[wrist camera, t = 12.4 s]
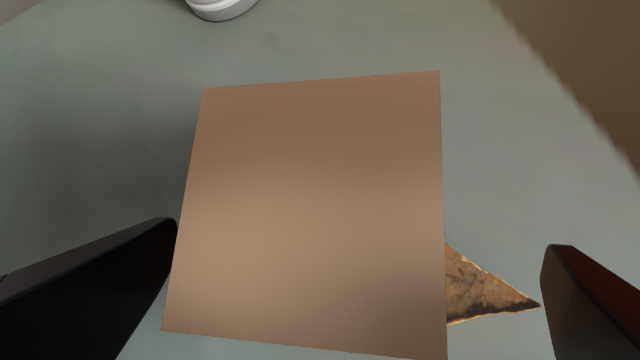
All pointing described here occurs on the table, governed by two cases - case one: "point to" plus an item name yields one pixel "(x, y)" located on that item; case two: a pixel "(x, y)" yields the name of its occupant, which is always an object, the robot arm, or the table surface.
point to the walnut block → (316, 217)
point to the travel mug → (220, 8)
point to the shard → (478, 291)
